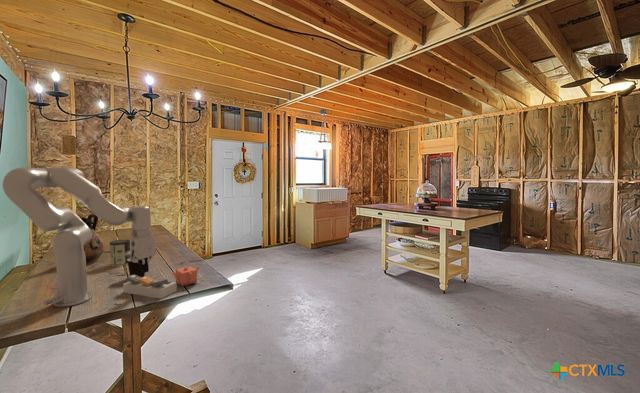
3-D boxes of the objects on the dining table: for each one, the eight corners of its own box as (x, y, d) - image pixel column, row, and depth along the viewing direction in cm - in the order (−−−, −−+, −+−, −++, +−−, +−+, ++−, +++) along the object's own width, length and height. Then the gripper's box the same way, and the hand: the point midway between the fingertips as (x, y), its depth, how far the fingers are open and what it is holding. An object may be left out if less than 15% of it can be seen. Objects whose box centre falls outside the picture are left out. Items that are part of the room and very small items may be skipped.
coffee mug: (137, 280, 145) (136, 261, 145) (123, 279, 147) (122, 260, 146) (155, 273, 157) (154, 255, 156) (141, 271, 158) (141, 254, 158)
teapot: (166, 284, 141) (166, 267, 140) (196, 276, 152) (196, 261, 151) (175, 290, 133) (174, 273, 132) (206, 282, 144) (205, 266, 143)
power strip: (161, 298, 124) (160, 288, 124) (115, 291, 132) (114, 281, 131) (176, 290, 133) (176, 281, 132) (132, 284, 140) (132, 275, 140)
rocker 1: (136, 284, 129) (136, 281, 129) (126, 280, 131) (126, 276, 130) (143, 281, 133) (144, 278, 133) (134, 277, 134) (134, 273, 134)
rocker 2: (148, 286, 127) (148, 282, 127) (137, 281, 129) (138, 278, 128) (155, 282, 131) (156, 279, 131) (145, 278, 132) (146, 275, 132)
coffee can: (126, 260, 180) (125, 238, 179) (134, 263, 174) (133, 240, 173) (107, 264, 171) (106, 241, 170) (115, 267, 166) (114, 244, 165)
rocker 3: (160, 285, 125) (160, 281, 125) (150, 286, 127) (149, 282, 127) (168, 281, 129) (167, 278, 129) (157, 283, 130) (157, 279, 130)
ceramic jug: (91, 265, 169) (89, 216, 166) (66, 265, 169) (63, 216, 167) (112, 257, 186) (110, 212, 183) (89, 257, 186) (87, 212, 184)
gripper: (133, 237, 121) (136, 278, 122) (161, 230, 135) (164, 267, 136) (120, 236, 123) (123, 276, 124) (149, 229, 137) (152, 266, 138)
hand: (144, 271), depth 130 cm, fingers closed
